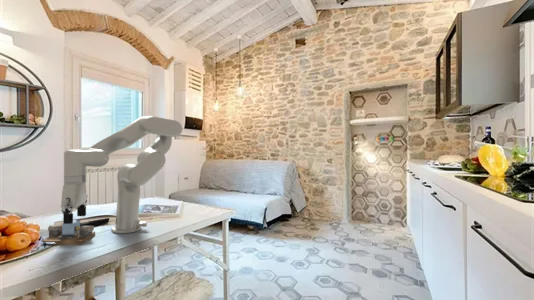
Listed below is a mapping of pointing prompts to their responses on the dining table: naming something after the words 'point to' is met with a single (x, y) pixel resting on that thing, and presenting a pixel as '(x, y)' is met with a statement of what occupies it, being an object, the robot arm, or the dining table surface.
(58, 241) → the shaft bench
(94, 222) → the electric trimmer
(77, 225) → the blue grey block
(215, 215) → the dining table surface
